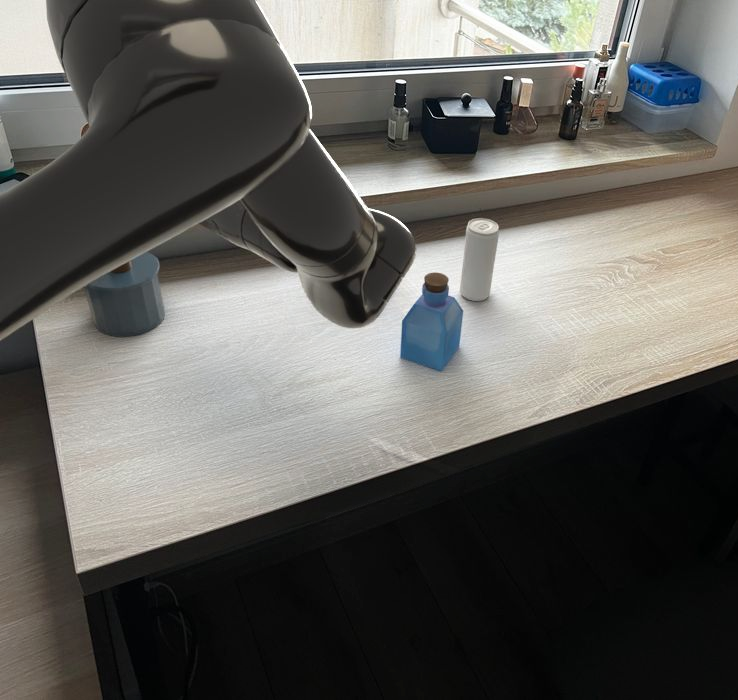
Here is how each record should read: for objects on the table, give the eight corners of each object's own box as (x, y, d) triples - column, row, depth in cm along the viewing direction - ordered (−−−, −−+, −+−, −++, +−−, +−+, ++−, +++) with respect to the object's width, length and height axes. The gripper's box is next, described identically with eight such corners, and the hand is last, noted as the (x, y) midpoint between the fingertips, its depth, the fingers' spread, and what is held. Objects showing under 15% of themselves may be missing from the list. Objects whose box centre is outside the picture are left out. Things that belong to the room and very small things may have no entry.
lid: (98, 303, 90) (81, 240, 85) (70, 269, 95) (52, 207, 90) (173, 280, 96) (161, 219, 90) (142, 248, 101) (129, 189, 95)
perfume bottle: (400, 357, 99) (404, 283, 91) (419, 333, 103) (424, 261, 96) (441, 371, 97) (448, 297, 90) (459, 346, 102) (467, 274, 94)
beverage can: (453, 293, 112) (460, 224, 105) (472, 281, 115) (481, 214, 108) (476, 306, 110) (485, 237, 103) (496, 294, 113) (506, 226, 106)
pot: (110, 345, 95) (97, 298, 90) (83, 311, 100) (70, 265, 95) (176, 321, 100) (167, 276, 95) (148, 291, 105) (138, 246, 100)
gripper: (293, 147, 73) (193, 101, 80) (170, 189, 64) (69, 132, 71) (297, 214, 78) (202, 164, 85) (182, 262, 68) (86, 202, 75)
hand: (141, 150), depth 78 cm, fingers open, 8 cm apart
